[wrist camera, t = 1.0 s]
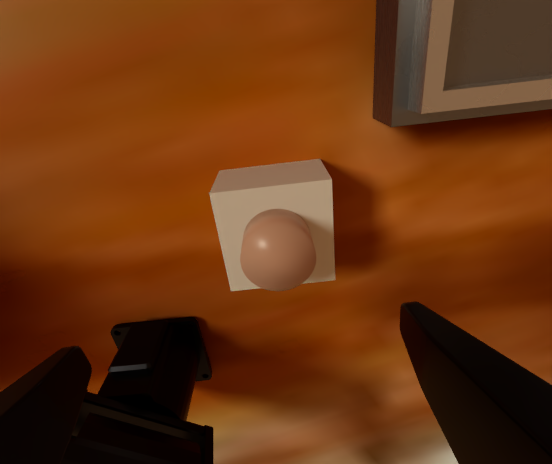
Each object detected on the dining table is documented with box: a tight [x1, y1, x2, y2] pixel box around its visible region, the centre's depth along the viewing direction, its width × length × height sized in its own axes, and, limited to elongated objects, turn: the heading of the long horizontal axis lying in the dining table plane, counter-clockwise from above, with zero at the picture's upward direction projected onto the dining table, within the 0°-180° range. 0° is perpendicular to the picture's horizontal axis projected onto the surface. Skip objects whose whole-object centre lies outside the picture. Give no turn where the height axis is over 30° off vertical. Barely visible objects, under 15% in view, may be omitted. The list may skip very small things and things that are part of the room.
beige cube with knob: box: [209, 159, 335, 291], centre depth 18 cm, size 6×6×6 cm
